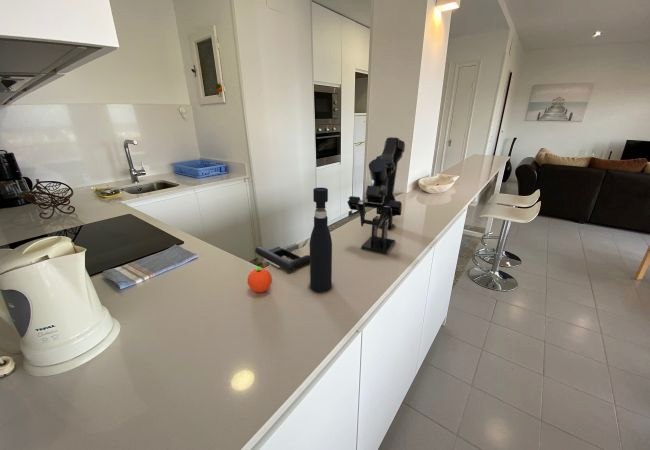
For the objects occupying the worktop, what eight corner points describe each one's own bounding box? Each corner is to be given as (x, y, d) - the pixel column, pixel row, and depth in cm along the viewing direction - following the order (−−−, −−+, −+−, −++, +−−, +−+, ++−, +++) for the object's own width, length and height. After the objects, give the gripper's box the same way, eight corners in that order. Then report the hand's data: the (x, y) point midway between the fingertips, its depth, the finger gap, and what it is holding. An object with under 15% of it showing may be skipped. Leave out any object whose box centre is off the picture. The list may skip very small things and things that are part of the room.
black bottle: (315, 294, 79) (314, 193, 69) (306, 283, 85) (304, 187, 74) (335, 288, 82) (337, 190, 71) (325, 278, 88) (325, 185, 77)
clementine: (246, 284, 84) (244, 264, 82) (269, 280, 87) (267, 259, 84) (250, 299, 77) (248, 277, 75) (275, 293, 80) (273, 272, 77)
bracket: (386, 254, 103) (388, 225, 99) (361, 248, 108) (362, 220, 103) (395, 242, 113) (397, 216, 109) (371, 238, 117) (373, 212, 113)
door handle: (286, 237, 112) (251, 247, 100) (321, 252, 99) (286, 266, 88) (286, 245, 113) (252, 256, 101) (321, 261, 100) (286, 276, 89)
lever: (376, 227, 94) (377, 220, 94) (362, 224, 97) (363, 217, 96) (387, 226, 107) (388, 220, 107) (374, 224, 109) (375, 218, 109)
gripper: (349, 173, 97) (338, 212, 91) (404, 177, 91) (396, 220, 85) (355, 190, 107) (345, 226, 101) (404, 195, 100) (397, 234, 95)
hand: (369, 226), depth 95 cm, fingers closed on lever, 5 cm apart
